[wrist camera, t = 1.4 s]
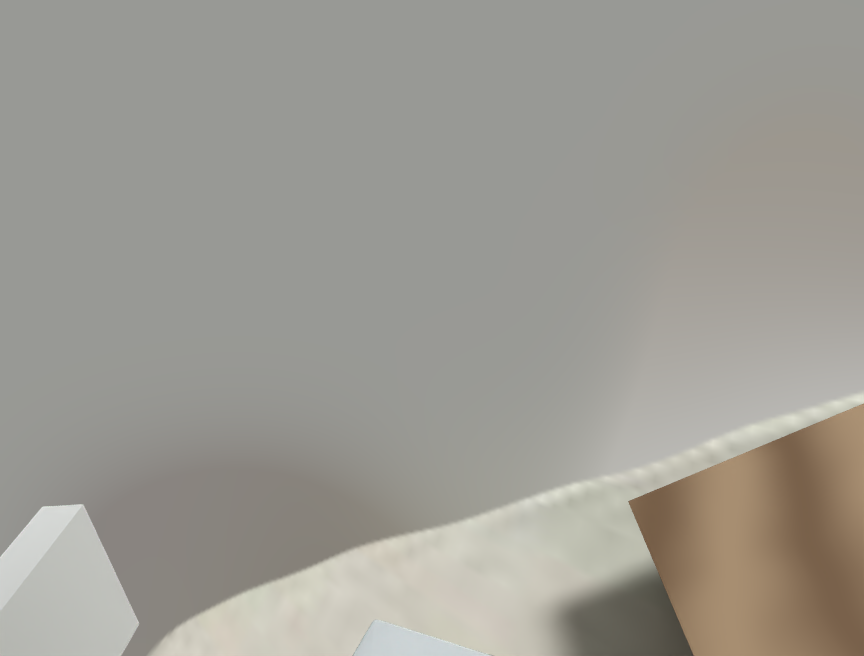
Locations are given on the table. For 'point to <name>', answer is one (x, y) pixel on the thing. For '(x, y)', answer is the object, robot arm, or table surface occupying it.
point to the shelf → (768, 546)
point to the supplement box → (406, 643)
